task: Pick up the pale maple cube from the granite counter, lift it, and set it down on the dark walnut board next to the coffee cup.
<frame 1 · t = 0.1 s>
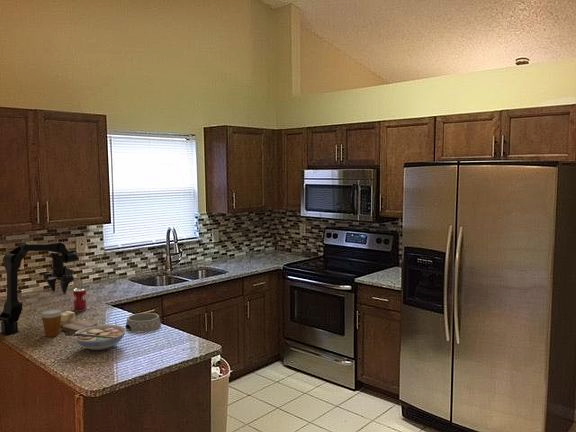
hand: (59, 292, 270), 15 cm above the worktop, tool pointing down, fingers open, 9 cm apart
ramen bowl: (100, 348, 227), on the worktop
dog bowl: (143, 326, 259), on the worktop
maple cube: (67, 324, 262), on the worktop
walnut board: (79, 328, 254), on the worktop
disposable coffee cup: (52, 335, 245), on the worktop
soda can: (80, 310, 289), on the worktop
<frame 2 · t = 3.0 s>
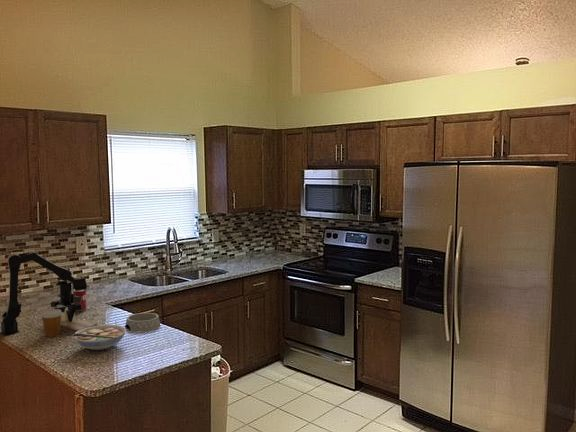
hand: (66, 321, 262), 2 cm above the worktop, tool pointing down, fingers closed on maple cube, 6 cm apart
maple cube: (67, 323, 262), on the worktop, touching gripper
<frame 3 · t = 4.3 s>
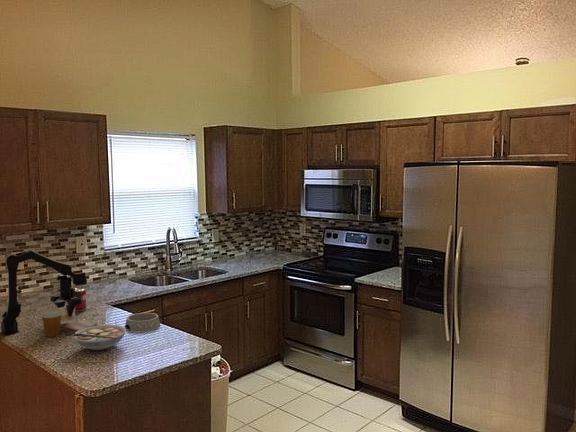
hand: (66, 315, 262), 4 cm above the worktop, tool pointing down, fingers closed on maple cube, 6 cm apart
maple cube: (66, 318, 262), point 3 cm above the worktop, touching gripper
everything else where it was.
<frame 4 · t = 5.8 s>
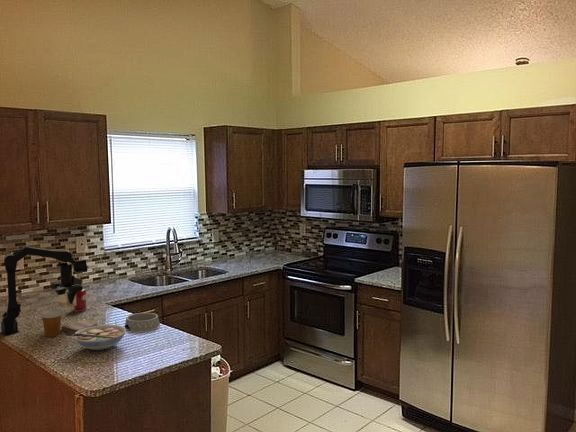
hand: (67, 303, 260), 12 cm above the worktop, tool pointing down, fingers closed on maple cube, 6 cm apart
maple cube: (67, 305, 261), point 10 cm above the worktop, touching gripper
everything else where it was.
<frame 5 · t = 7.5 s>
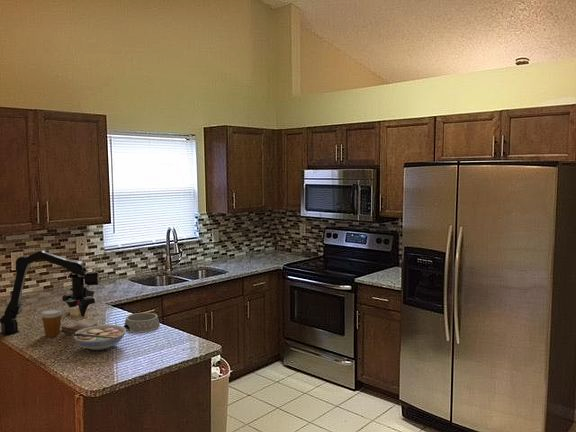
hand: (79, 315, 253), 7 cm above the worktop, tool pointing down, fingers closed on maple cube, 6 cm apart
maple cube: (79, 318, 254), point 5 cm above the worktop, touching gripper
everything else where it was.
when the fingers open (5 cm above the worktop, at t = 8.7 s): maple cube drops 1 cm, resting on walnut board.
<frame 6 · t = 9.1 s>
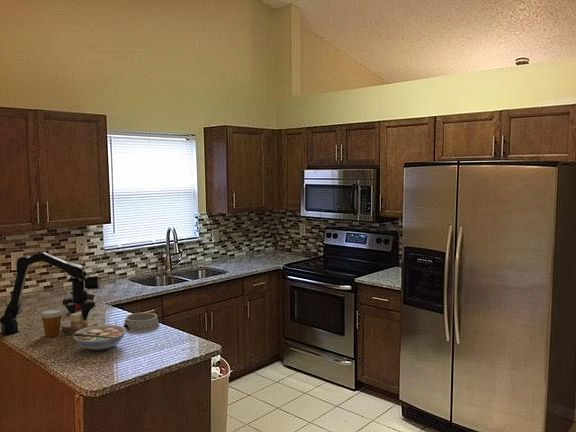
hand: (79, 319, 254), 5 cm above the worktop, tool pointing down, fingers open, 9 cm apart
maple cube: (79, 325, 254), point 2 cm above the worktop, touching walnut board
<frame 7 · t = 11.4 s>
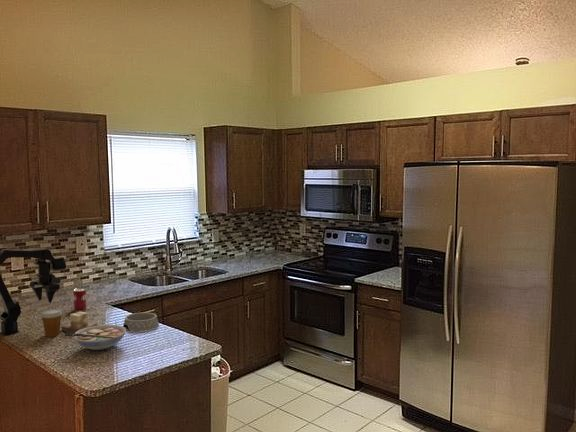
hand: (45, 301, 259), 13 cm above the worktop, tool pointing down, fingers open, 9 cm apart
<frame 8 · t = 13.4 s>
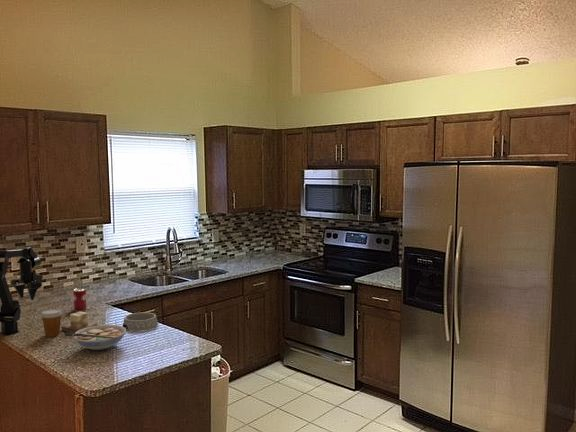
hand: (27, 298, 263), 13 cm above the worktop, tool pointing down, fingers open, 9 cm apart
at the end: maple cube inside the target area on the walnut board (0.0 cm from its centre), point 2.0 cm above the walnut board's base; maple cube tilted 0°; the gripper is holding nothing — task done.
